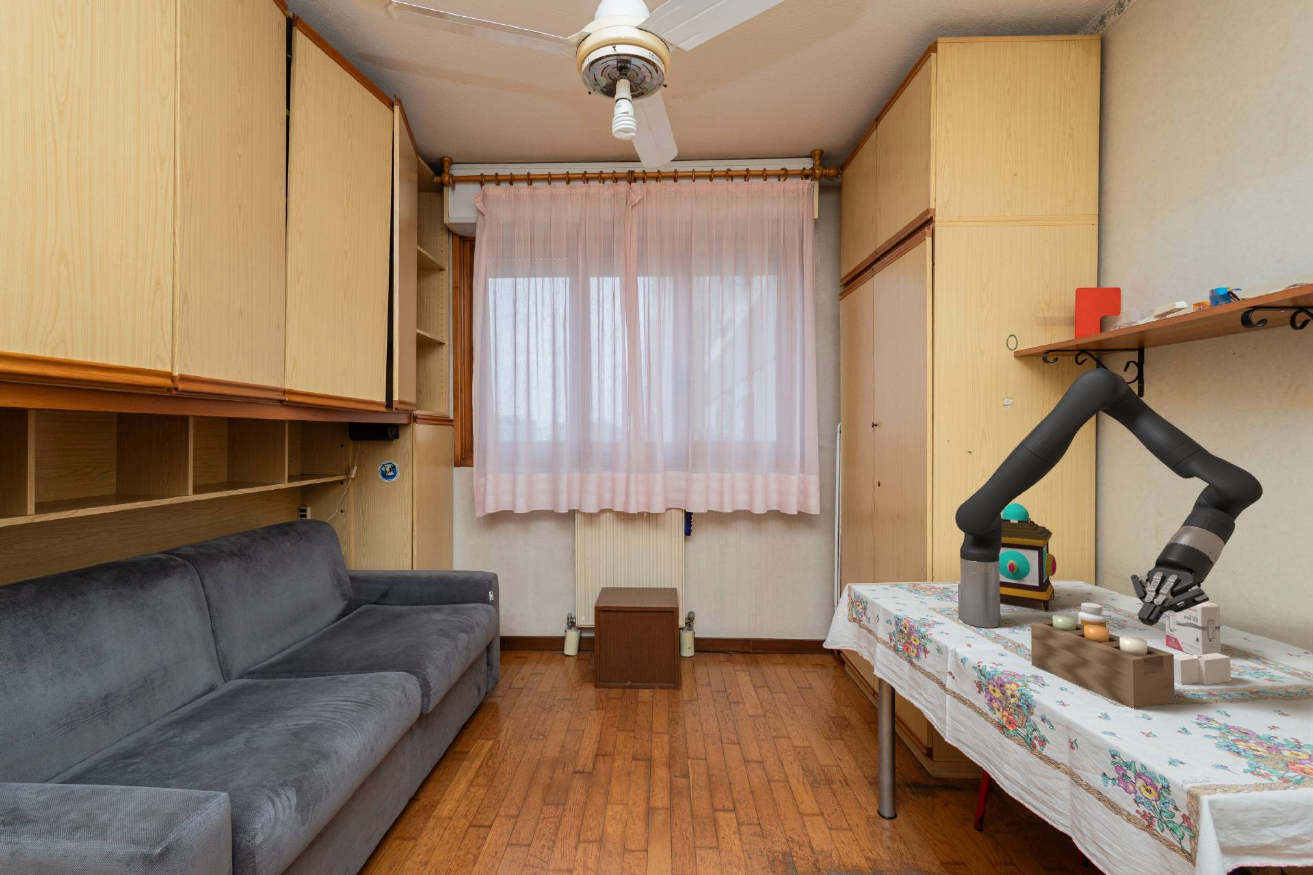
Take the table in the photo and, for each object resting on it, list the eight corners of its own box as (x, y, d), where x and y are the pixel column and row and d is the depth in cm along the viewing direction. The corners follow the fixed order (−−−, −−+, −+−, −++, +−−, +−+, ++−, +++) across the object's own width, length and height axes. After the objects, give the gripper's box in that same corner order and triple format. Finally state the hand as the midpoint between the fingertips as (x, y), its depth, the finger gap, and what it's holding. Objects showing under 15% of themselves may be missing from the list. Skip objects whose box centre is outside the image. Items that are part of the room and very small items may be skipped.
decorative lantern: (973, 602, 170) (971, 503, 171) (986, 588, 186) (984, 498, 186) (1053, 614, 157) (1051, 508, 158) (1060, 599, 173) (1058, 501, 173)
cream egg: (1114, 652, 109) (1114, 637, 109) (1130, 650, 110) (1130, 635, 110) (1136, 660, 105) (1136, 644, 105) (1152, 658, 106) (1152, 642, 106)
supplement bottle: (1112, 650, 131) (1111, 608, 131) (1086, 648, 132) (1085, 607, 132) (1098, 642, 136) (1098, 602, 136) (1073, 640, 137) (1073, 601, 137)
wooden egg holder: (1031, 664, 123) (1030, 623, 123) (1067, 660, 125) (1067, 619, 125) (1133, 708, 102) (1132, 659, 103) (1174, 702, 105) (1173, 654, 105)
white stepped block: (1230, 677, 116) (1230, 649, 116) (1260, 700, 106) (1259, 670, 106) (1138, 665, 123) (1138, 639, 123) (1158, 686, 113) (1157, 658, 113)
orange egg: (1079, 640, 115) (1079, 625, 115) (1094, 638, 116) (1094, 623, 116) (1099, 647, 111) (1098, 632, 112) (1114, 645, 112) (1114, 630, 112)
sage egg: (1048, 629, 122) (1048, 615, 122) (1062, 627, 123) (1062, 614, 123) (1065, 635, 118) (1065, 621, 118) (1080, 633, 119) (1080, 619, 119)
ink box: (1164, 644, 134) (1162, 595, 134) (1182, 644, 134) (1181, 594, 134) (1202, 658, 125) (1201, 605, 125) (1222, 657, 125) (1221, 605, 125)
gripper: (1143, 536, 117) (1099, 600, 114) (1220, 547, 104) (1173, 619, 101) (1162, 560, 118) (1119, 623, 115) (1241, 574, 105) (1195, 646, 102)
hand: (1144, 622), depth 108 cm, fingers closed
